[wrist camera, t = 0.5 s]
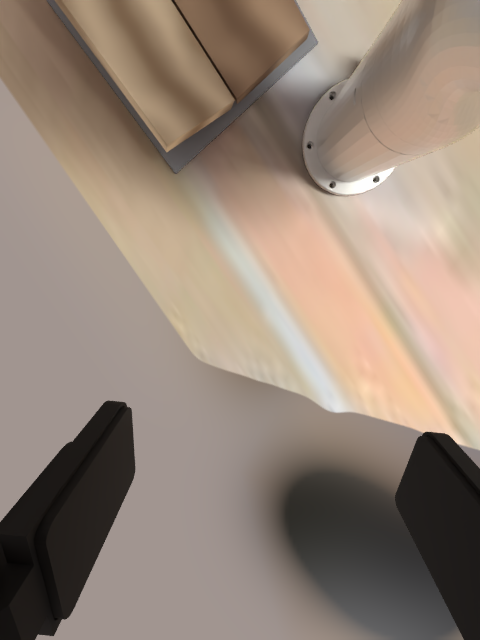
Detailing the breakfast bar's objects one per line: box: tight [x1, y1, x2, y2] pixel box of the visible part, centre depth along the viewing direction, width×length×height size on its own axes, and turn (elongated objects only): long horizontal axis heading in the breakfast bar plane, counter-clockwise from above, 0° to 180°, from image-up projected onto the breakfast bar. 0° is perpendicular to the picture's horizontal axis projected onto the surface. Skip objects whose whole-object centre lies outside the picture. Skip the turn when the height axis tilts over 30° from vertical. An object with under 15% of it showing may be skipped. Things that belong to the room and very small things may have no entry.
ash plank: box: [55, 0, 235, 152], centre depth 29 cm, size 10×20×2 cm, turn 37°
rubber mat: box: [46, 0, 318, 174], centre depth 31 cm, size 22×22×1 cm
